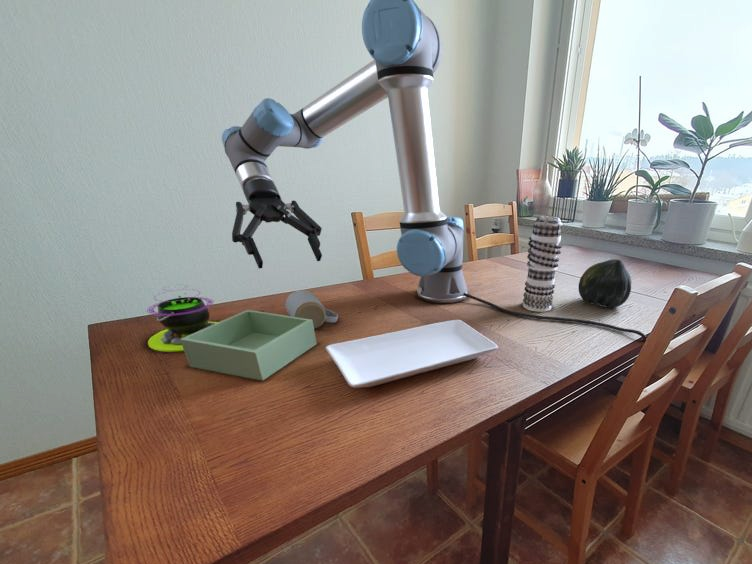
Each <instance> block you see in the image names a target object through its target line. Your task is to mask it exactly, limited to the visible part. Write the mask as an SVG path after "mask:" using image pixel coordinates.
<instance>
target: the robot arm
mask: <svg viewBox="0 0 752 564" xmlns="http://www.w3.org/2000/svg"><path fill="white" fill-rule="evenodd" d="M361 36H362V40H363V43H364V46H365V48H366V50H367V52H368V54H369V55H370V57H371V58H372V59H373V60H372V61H370V62H368V63H367V64H365V65H364V66H363V67H361V68H359V69H358V70H357V71H355V72H354V73H352V74H351V75H348V77H346V78H344V80H342V81H341V82H339V83H338V84H336V85H334V86H333V87H332V88H330V89H329V90H327V91H326V92H324V93H323V94H321V95H320V96H318V97H317V98H315V99H313V100H312V101H311V102H309V103H308V104H307V105H305V106H304V107H302V108H301V109H299V110H298V111H296V112H294V113H290V112H289V111H288V110H287V108H286V107H285V106H283V105H282V104H281V103H280V102H277V101H276V100H275V99H273V98H270V97H266V98H263V100H261V101H260V102H259V104H257V105H256V106H255V107H254V109H253V111H252V112H251V113H250V115H249V116H248V118H247V119H246V120H245V121H244V123H243V125H242V126H238V125H234V126H233V125H232V126H231V127H230V128H225V129H224V131H223V132H222V134H221V142H222V145H223V148H224V153H225V155H226V156H227V159H228V160H229V162H230V164H231V167H232V169H233V171H234V173H235V176H236V178H237V180H238V183H239V185H240V187H241V189H242V191H243V194H244V197H245V200H246V201H247V204H243V202H241V201H236V202H235V212H236V213H235V214H236V215H235V220H234V223H233V228H232V232H231V241H232V242H233V243H241V245H242V246H243V247H244V249H245V251H246V253H247V255H248V256H251V255H252V256H253V258H254V261H255V264H256V265H257V268H258V269H263V266H264V265H263V264H264V261H263V258H262V256H261V254H260V252H259V249H258V247H257V244H256V242H255V240H254V238H253V236H254V235H255V233H256V231H257V229H258V228H259V226H261V224H262V222H264V223H266V224H267V223H280V222H282V223H284V224H286V225H289V226H290V227H293V229H296V230H297V231H298V232H300V233H302V234H303V235H305V236H307V241H308V244H309V246H310V248H311V251H312V253H313V255H314V257H315V259H316V262H320V261H321V260H322V257H323V253H322V251H321V249H320V247H321V241H320V239H319V236H321V234H322V229H323V228H322V227H321V226H320V225H319V224H318V223H317V222H316V221H315V220H314V219H313V218H311V216H310V215H308V213H306V212H305V211H304V210H303V209H302V208H301V207H300V205H299V204H298V202H297V201H296V200H295V199H294V200H291V202H288V203H285V202H284V201H283V200H282V196H281V194H280V193H279V190H278V188H277V186H276V184H275V181H274V179H273V177H272V175H271V172H270V170H269V168H268V165H267V163H266V161H267V159H268V158H269V157H270V156H271V155H272V154H273V153H274V151H275V150H276V149H277V148H278V147H286V148H302V149H307V150H309V149H314V148H318V147H319V146H321V144H322V143H323V142H322V141H323V139H324V137H326V136H328V135H329V134H331V133H332V132H335V130H338V129H339V128H340V127H342V126H344V125H345V124H347V123H349V122H350V121H352V120H353V119H355V118H357V117H359V116H360V115H362V114H363V113H365V112H367V111H369V110H370V109H371V108H374V107H375V106H376V105H378V104H379V103H381V102H383V101H385V100H386V99H387V100H388V106H389V113H390V119H391V120H390V121H391V128H392V134H393V135H392V136H393V142H394V149H395V157H396V163H397V171H398V177H399V183H400V191H401V197H402V203H403V204H402V205H403V214H402V216H401V217H400V218H399V221H398V222H399V229H400V234H401V235H400V237H399V239H398V241H397V245H396V255H397V259H398V260H399V263H400V264H401V265H402V267H403V269H405V270H406V271H408V272H409V273H410V274H411V275H414V276H417V277H420V278H419V281H418V285H417V290H416V292H417V293H416V295H417V297H418V298H419V299H421V300H423V301H424V302H429V303H435V304H452V303H458V302H462V301H465V300H466V299H467V298H470V299H472V300H474V301H477V302H480V303H482V304H485V305H487V306H490V307H491V308H494V309H496V310H499V311H501V312H504V313H507V314H510V315H514V316H519V317H525V318H531V319H537V320H550V321H561V322H570V323H571V322H572V323H580V324H587V325H594V326H600V327H605V328H608V329H612V330H616V331H619V332H624V333H631V334H635V335H638V336H640V337H641V338H642V339H643V340H644V341H645V340H646V338H648V336H647V335H646V334H644V333H643V332H641V331H639V330H636V329H631V328H625V327H620V326H615V325H612V324H608V323H603V322H599V321H595V320H594V321H593V320H587V319H579V318H568V317H557V316H547V315H536V314H530V313H525V312H518V311H514V310H511V309H507V308H505V307H501V306H500V305H497V304H494V303H492V302H490V301H488V300H484V299H482V298H480V297H477V296H474V295H471V294H469V293H468V287H467V283H466V280H465V277H464V273H463V252H464V232H465V228H464V221H463V219H462V218H461V217H456V216H447V215H446V214H445V213H444V212H442V211H441V207H440V200H439V189H438V188H439V187H438V180H437V170H436V161H435V160H436V159H435V150H434V141H433V131H432V130H433V129H432V122H431V120H432V119H431V112H430V101H429V89H430V87H432V84H433V83H434V81H435V80H434V74H435V73H436V71H437V69H438V68H439V66H440V63H441V60H442V54H443V44H442V39H441V35H440V31H439V30H438V28H437V27H436V24H435V23H434V22H433V20H432V19H431V18H430V17H428V15H426V14H425V13H424V12H423V10H422V9H421V8H419V6H418V5H417V3H416V1H414V0H369V1H368V3H367V5H366V7H365V9H364V11H363V15H362V19H361ZM248 212H249V213H251V214H252V215H253V217H252V218H251V220H250V222H249V223H248V225H247V226H246V227H245V230H243V232H242V233H241V231H242V226H243V221H244V216H246V215H247V213H248Z"/></svg>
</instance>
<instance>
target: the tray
mask: <svg viewBox="0 0 752 564" xmlns="http://www.w3.org/2000/svg"><path fill="white" fill-rule="evenodd" d="M498 349H499V346H498V344H497V343H495V342H493V341H492V340H491V339H489V338H488V337H486V336H484V334H482V333H480V332H479V331H477V329H475V328H473V327H472V326H470V325H469V324H467V323H466V322H465V321H463V320H461V319H451V320H446V321H440V322H435V323H430V324H425V325H420V326H416V327H411V328H406V329H401V330H396V331H391V332H386V333H382V334H377V335H372V336H367V337H363V338H357V339H352V340H348V341H344V342H336V343H332V344H329V345H326V346H325V350H326V352H327V354H328V355H329V356H330V358H331V359H332V361H333V362H334V364H335V365H336V367H337V368H338V370H339V371H340V373H341V375H342V376H343V378H344V379H345V381H346V383H347V384H348V386H349V387H351V388H356V389H357V388H358V389H359V388H372V387H376V386H379V385H383V384H387V383H391V382H394V381H398V380H401V379H405V378H408V377H413V376H415V375H419V374H423V373H427V372H430V371H435V370H438V369H442V368H445V367H450V366H453V365H457V364H460V363H465V362H468V361H473V360H475V359H478V358H479V357H482V356H486V355H488V354H490V353H492V352H495V351H497V350H498Z"/></svg>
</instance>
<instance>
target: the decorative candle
mask: <svg viewBox="0 0 752 564" xmlns="http://www.w3.org/2000/svg"><path fill="white" fill-rule="evenodd" d="M532 223H533V225H532V233H531V237H530V236H529V238H528V240H529V241H528V243H527V245H528V246H529V248H528V249H527V253H528V254H527V255H526V259H528V261H527V262H526V266H527V269H528V270H527V275H526V281H525V283H524V286H525V287H524V290H523V291H525V292H524V293H523V294H522V295H523V299H522V302H523V304H522V307H523V308H524V309H526V310H528V311H532V312H537V313H542V312H543V313H545V312H549V311H550V310H552V305H553V300H554V295H553V294H554V293H555V290H554V289H555V287H556V285H555V280H556V279H555V275H556V271H557V270H558V267H559V264H558V262H559V261H560V258H559V257H558V256H559V255H561V254H562V252H561V250H560V249H562V248H563V246H562V245H561V239H562V235H561V233H562V227H563V226H564V223H563V222H562V221H561V218H560V217H558V216H553V215H539V216H538V217H537V218H536V219H535V220H533V221H532Z"/></svg>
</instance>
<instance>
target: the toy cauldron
mask: <svg viewBox="0 0 752 564" xmlns="http://www.w3.org/2000/svg"><path fill="white" fill-rule="evenodd" d="M177 286H180V284H179V283H178V284H177ZM181 286H185V287H182V288H181V289H179V291H183V290H184V291H185V290H186V291H188V288H187V287H188V285H186V284H182V283H181ZM168 287H169V286H164V287H162V292H161V293H159V295H160V294H161V295H162V294H166V292H173V291H177V289H175V290H173V289H172V290H171V289H166V288H168ZM190 290H192V291H194V292H195V291H197V292H198V294H196V295H194V296H185V297H182V295H178V296H177V298H171V299H166V300H160V301H158V300H157V299H156V295H154V296H153V300H155V301H157V303H155V304H153V305H151V306H149V307H147V309H146V312H147V313H148V314H149V315H153V316H155V315H156V316H157V318H156V321H157V322H159V323H160V324H161V325H162V327H164V328H165V329H163V330H161V331H159V332H157V333H155V334H154V335H152V336H151V337H150V338H149V339H148V341H147V345H148V348H150V349H151V350H154V351H158V352H162V353H163V352H166V353H177V352H179V353H180V352H184V349H183V346H182V344H181V341H180V339H182V338H184V337H186V336H188V335H191V334H193V333H195V332H198V331H200V330H202V329H204V328H207V327H209V326H211V325H214V324H216V323H218V321H210V315H211V314H210V311H209V307H211V306H213V304H214V300H212V298H208V297H203V296H202V297H201V296H200V295H201V291H199V290H198V289H197V290H196V289H193V288H192V289H190ZM163 291H164V292H163ZM184 295H187V292H185V293H184ZM204 301H206V304H205V302H204ZM156 307H157V311H155V308H156Z"/></svg>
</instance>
